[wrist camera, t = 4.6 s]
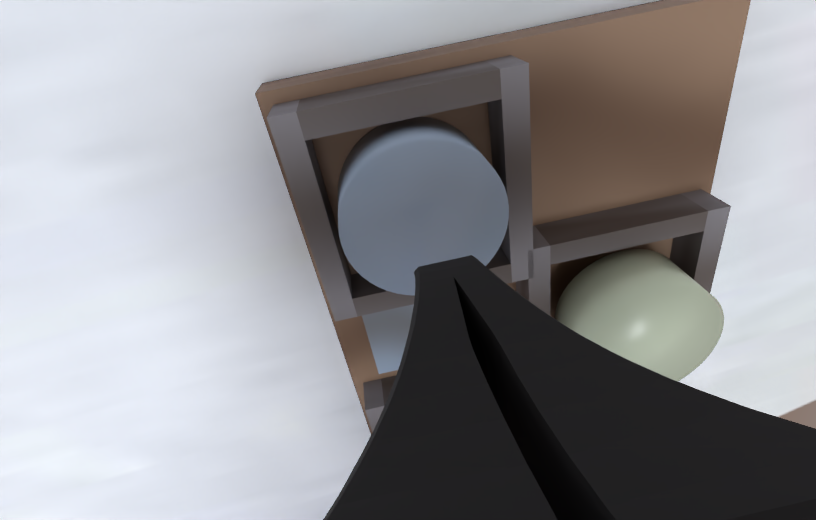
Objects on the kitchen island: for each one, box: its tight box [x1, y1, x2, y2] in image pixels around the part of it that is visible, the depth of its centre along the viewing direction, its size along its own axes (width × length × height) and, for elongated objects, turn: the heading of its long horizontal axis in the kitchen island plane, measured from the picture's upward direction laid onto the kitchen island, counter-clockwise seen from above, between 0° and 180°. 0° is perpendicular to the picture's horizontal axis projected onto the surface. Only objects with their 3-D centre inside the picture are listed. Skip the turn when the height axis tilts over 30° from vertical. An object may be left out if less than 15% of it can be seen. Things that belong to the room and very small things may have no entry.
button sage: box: [555, 249, 724, 381], centre depth 17 cm, size 5×5×2 cm
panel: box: [255, 0, 751, 435], centre depth 19 cm, size 20×15×3 cm
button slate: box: [338, 117, 509, 295], centre depth 14 cm, size 5×5×2 cm
